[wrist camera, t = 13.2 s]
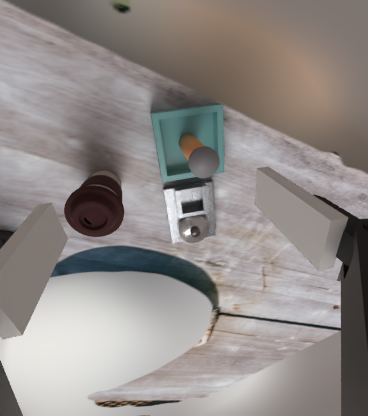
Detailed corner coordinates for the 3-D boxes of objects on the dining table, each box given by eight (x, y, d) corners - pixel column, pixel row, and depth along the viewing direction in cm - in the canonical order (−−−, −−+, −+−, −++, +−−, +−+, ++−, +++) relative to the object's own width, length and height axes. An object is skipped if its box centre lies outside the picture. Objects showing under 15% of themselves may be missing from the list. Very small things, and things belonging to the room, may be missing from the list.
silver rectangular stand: (172, 240, 62) (174, 252, 57) (162, 185, 53) (164, 194, 49) (213, 232, 63) (219, 243, 58) (211, 177, 55) (217, 185, 50)
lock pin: (177, 155, 50) (190, 180, 37) (174, 132, 47) (187, 150, 34) (199, 152, 50) (220, 175, 37) (197, 129, 48) (219, 145, 35)
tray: (161, 176, 52) (162, 182, 49) (150, 111, 45) (151, 114, 42) (218, 166, 54) (224, 172, 50) (216, 102, 47) (222, 104, 43)
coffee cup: (125, 163, 50) (119, 191, 37) (129, 203, 54) (125, 240, 41) (77, 164, 48) (54, 193, 35) (86, 205, 53) (68, 244, 40)
